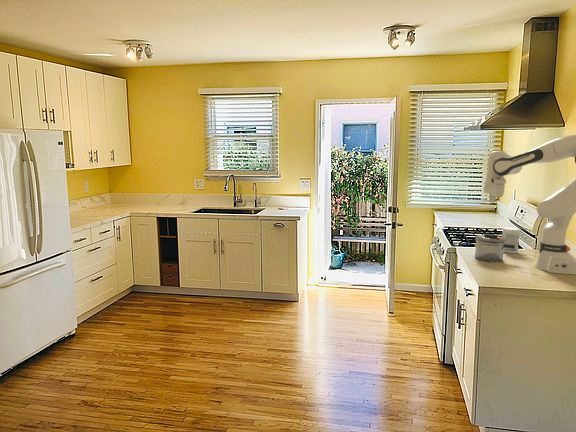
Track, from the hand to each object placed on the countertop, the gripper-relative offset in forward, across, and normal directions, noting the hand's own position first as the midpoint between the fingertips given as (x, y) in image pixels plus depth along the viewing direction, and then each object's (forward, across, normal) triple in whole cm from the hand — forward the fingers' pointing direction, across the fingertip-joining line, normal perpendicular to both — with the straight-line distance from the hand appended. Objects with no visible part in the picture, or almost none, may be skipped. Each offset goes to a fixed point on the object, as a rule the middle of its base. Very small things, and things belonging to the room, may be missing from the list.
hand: (491, 202), depth 270 cm
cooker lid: (+21, +4, 0) cm, 22 cm away
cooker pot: (+33, +6, +2) cm, 33 cm away
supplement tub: (+33, -14, +19) cm, 41 cm away
